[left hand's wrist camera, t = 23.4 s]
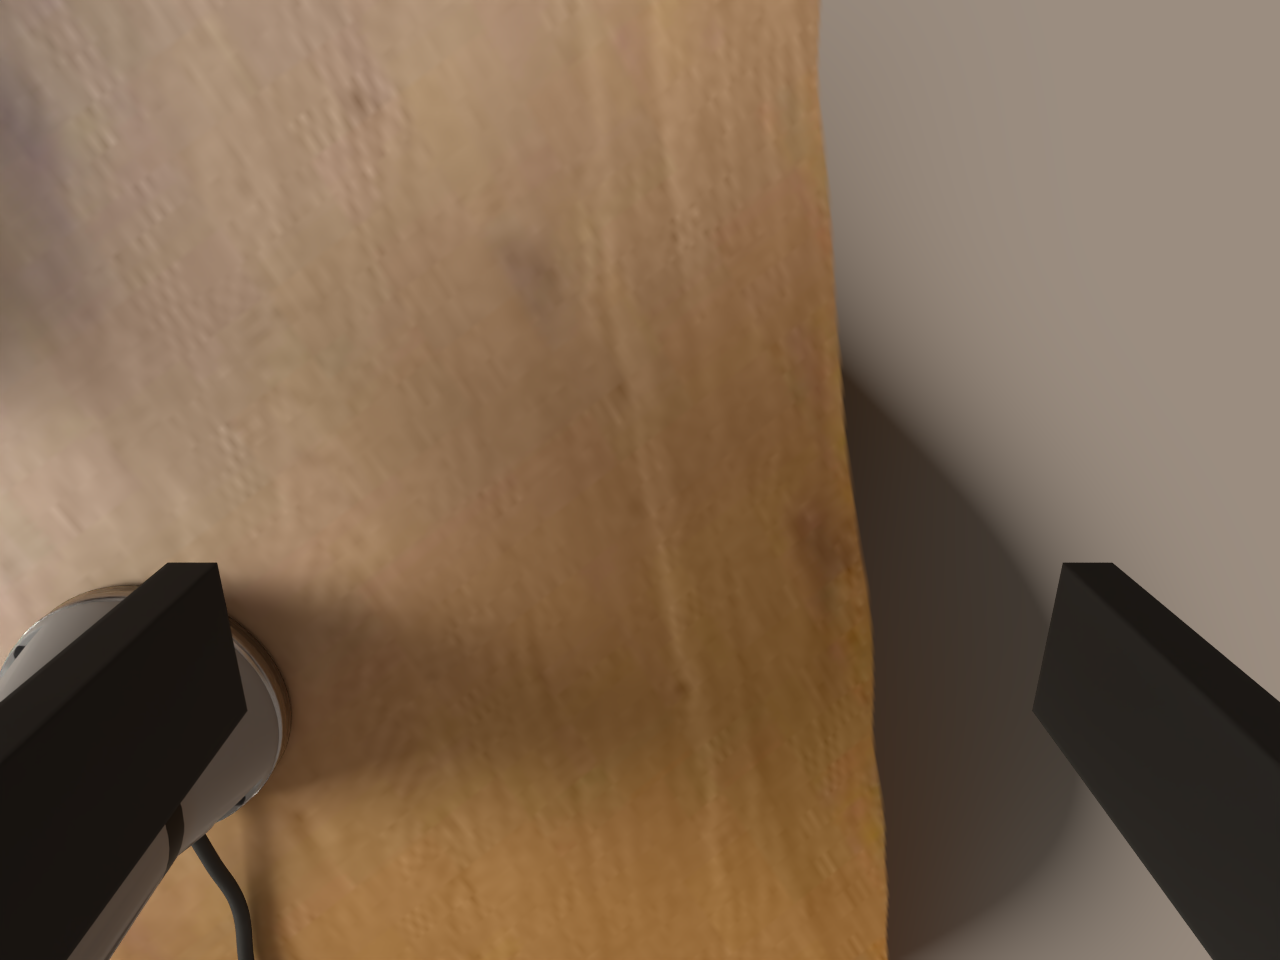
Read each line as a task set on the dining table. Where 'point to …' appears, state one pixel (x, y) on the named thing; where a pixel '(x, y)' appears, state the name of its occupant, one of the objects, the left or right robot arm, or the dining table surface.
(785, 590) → the dining table surface
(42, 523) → the dining table surface
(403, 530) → the dining table surface
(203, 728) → the left robot arm
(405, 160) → the dining table surface
